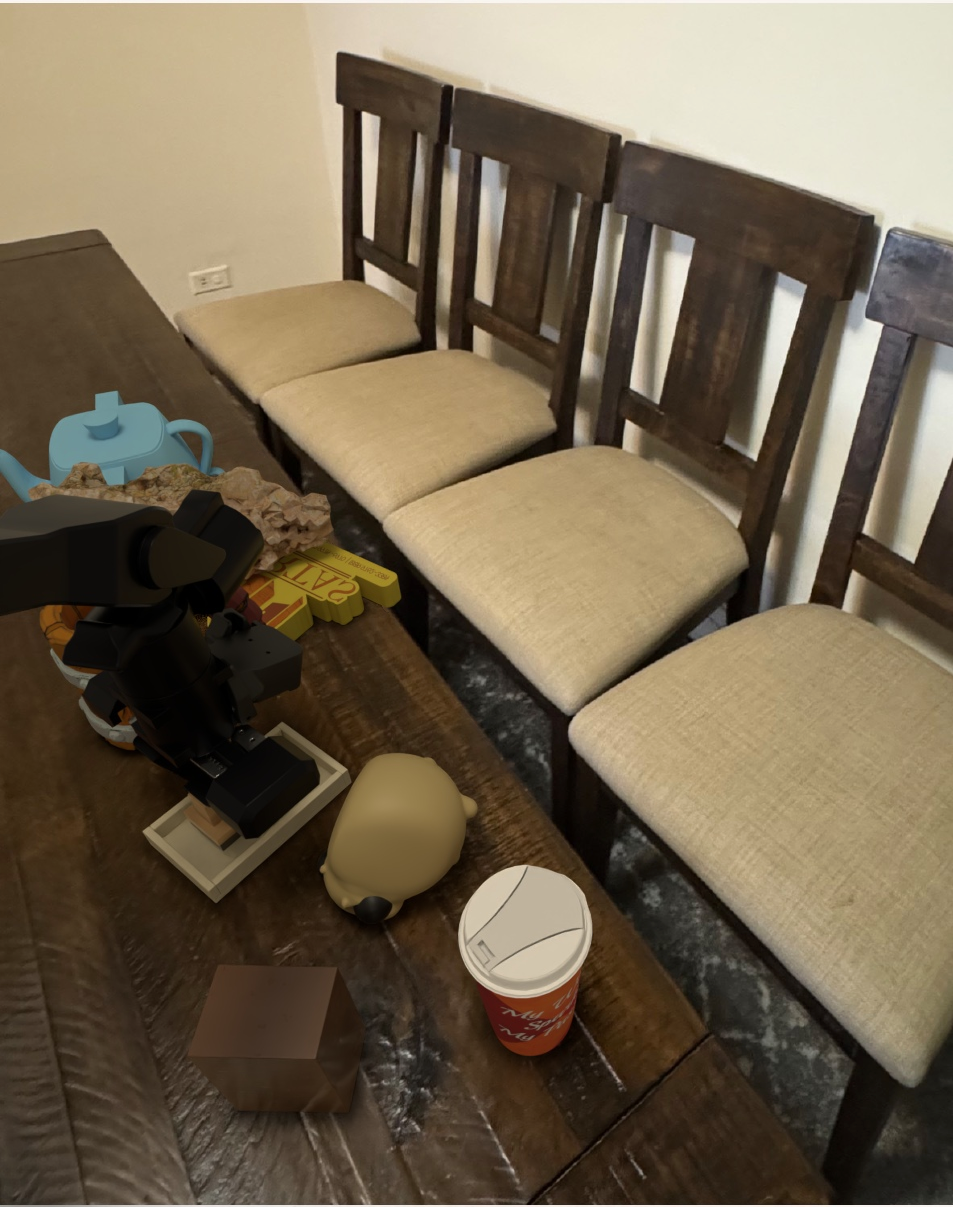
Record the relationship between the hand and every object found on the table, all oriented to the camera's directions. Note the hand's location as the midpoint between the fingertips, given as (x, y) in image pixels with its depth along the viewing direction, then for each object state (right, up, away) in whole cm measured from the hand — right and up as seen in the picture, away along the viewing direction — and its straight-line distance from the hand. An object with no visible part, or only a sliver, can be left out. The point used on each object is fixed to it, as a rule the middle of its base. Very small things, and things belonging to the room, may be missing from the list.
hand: (232, 799), depth 64 cm
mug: (-9, +7, +11) cm, 15 cm away
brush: (0, -1, +1) cm, 2 cm away
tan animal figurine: (+13, -5, 0) cm, 14 cm away
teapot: (-23, +23, +27) cm, 42 cm away
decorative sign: (0, +21, +24) cm, 32 cm away
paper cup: (+24, -13, -7) cm, 28 cm away
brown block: (+9, -15, -10) cm, 20 cm away
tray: (+1, -2, +3) cm, 3 cm away
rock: (-9, +16, +18) cm, 25 cm away
